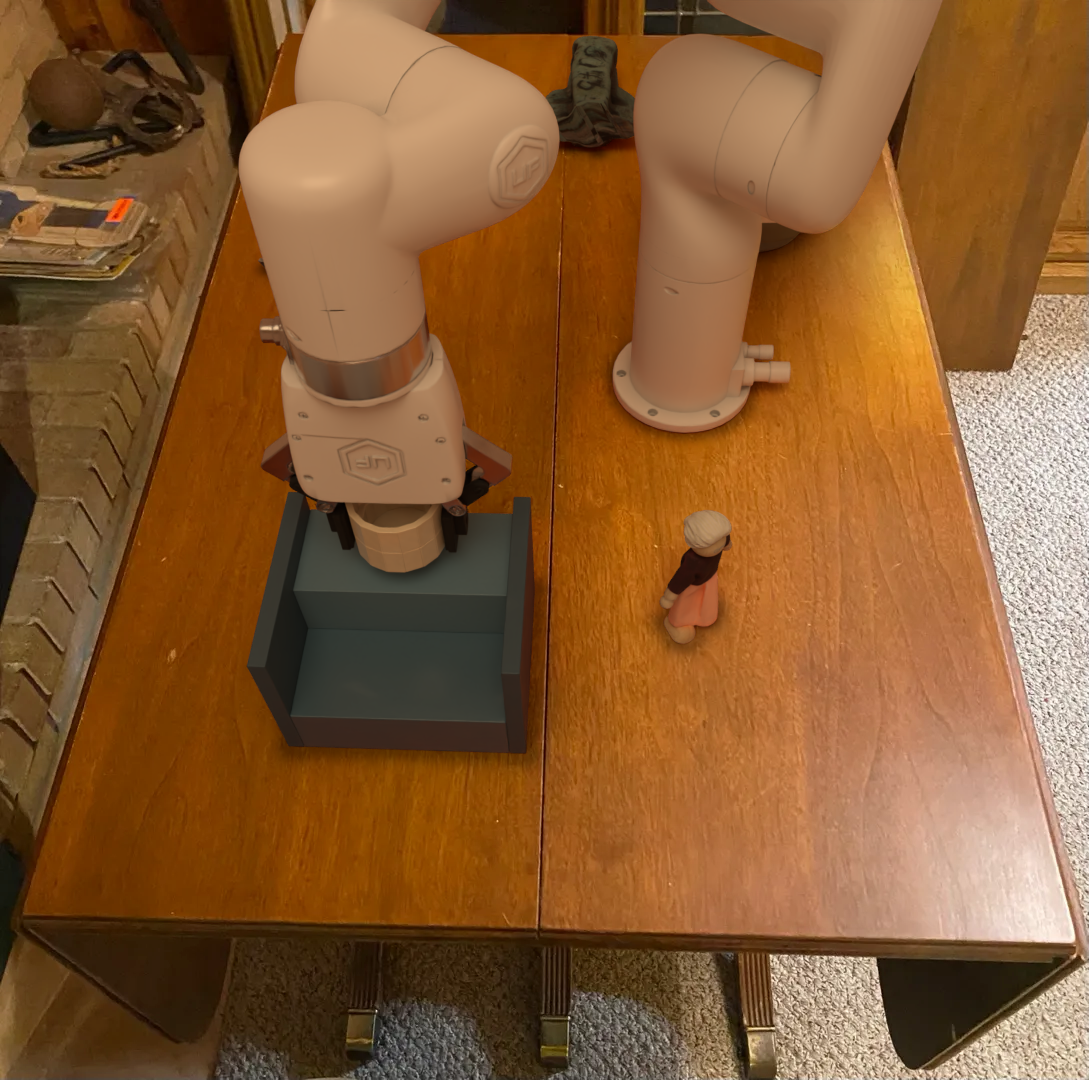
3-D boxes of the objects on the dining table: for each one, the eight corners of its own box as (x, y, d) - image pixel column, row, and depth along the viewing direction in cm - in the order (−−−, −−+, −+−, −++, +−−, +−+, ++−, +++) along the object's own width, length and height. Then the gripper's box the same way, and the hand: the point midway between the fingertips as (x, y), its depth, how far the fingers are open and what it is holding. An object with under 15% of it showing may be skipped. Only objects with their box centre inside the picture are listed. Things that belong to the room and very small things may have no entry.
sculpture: (670, 116, 112) (626, 68, 123) (640, 60, 107) (597, 14, 117) (579, 184, 115) (543, 130, 125) (545, 132, 110) (511, 81, 120)
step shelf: (535, 589, 81) (530, 496, 71) (526, 753, 73) (519, 674, 63) (320, 584, 82) (287, 491, 72) (288, 746, 74) (246, 666, 64)
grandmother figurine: (691, 663, 77) (711, 569, 67) (647, 640, 78) (659, 544, 68) (736, 590, 81) (761, 490, 70) (693, 569, 82) (711, 468, 72)
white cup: (453, 503, 72) (446, 457, 68) (444, 577, 68) (437, 533, 64) (364, 501, 72) (352, 455, 68) (351, 575, 68) (337, 531, 64)
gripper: (185, 386, 53) (266, 576, 68) (515, 392, 53) (526, 583, 67) (217, 290, 58) (287, 488, 72) (523, 294, 57) (531, 494, 72)
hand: (402, 532), depth 70 cm, fingers closed on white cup, 6 cm apart
